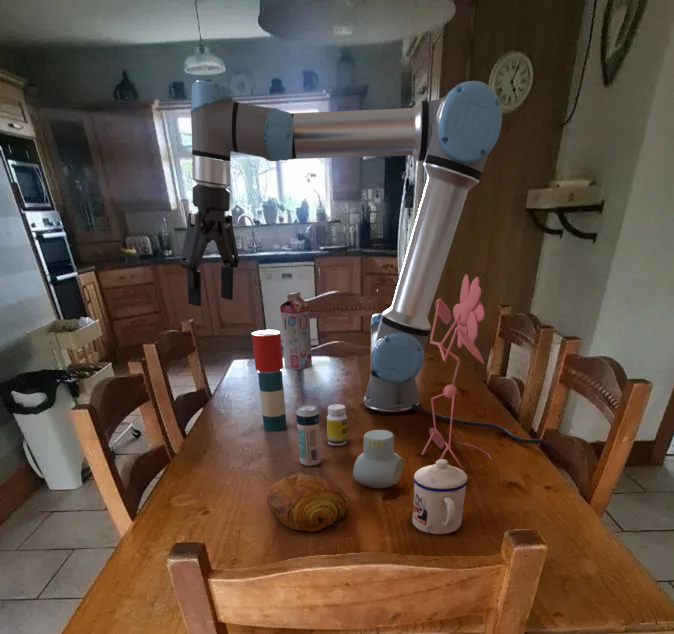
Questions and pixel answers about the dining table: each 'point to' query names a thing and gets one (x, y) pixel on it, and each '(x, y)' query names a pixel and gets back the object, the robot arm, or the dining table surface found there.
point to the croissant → (307, 501)
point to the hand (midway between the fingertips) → (211, 301)
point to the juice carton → (296, 332)
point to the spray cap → (267, 350)
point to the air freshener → (378, 461)
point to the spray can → (272, 400)
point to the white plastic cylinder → (308, 435)
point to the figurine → (467, 330)
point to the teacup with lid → (439, 498)
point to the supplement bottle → (336, 425)
